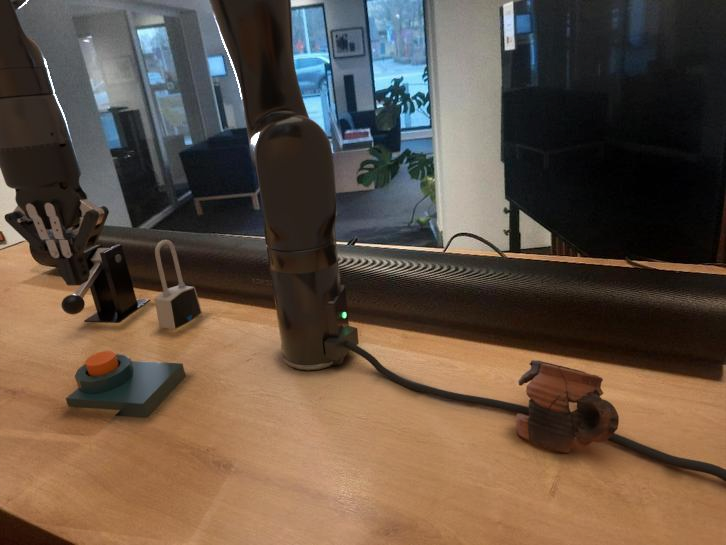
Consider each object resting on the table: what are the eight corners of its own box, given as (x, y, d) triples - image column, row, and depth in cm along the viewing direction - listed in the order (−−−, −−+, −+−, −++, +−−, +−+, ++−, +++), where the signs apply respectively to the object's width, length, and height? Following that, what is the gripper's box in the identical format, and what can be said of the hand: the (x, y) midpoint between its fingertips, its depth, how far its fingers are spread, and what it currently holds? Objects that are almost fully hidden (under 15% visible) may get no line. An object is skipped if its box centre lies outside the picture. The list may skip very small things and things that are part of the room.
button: (124, 362, 66) (121, 351, 65) (106, 377, 63) (102, 366, 62) (101, 361, 67) (97, 350, 66) (82, 376, 64) (78, 364, 63)
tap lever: (82, 318, 79) (70, 306, 76) (65, 318, 79) (53, 306, 77) (120, 258, 87) (110, 246, 85) (104, 258, 88) (94, 246, 85)
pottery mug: (490, 425, 55) (505, 352, 56) (550, 433, 59) (564, 365, 60) (580, 468, 44) (598, 377, 45) (645, 474, 48) (661, 391, 49)
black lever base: (120, 328, 84) (100, 257, 80) (85, 326, 86) (63, 257, 81) (151, 305, 93) (135, 240, 88) (119, 304, 94) (101, 240, 89)
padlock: (187, 314, 88) (168, 233, 82) (205, 317, 86) (187, 234, 80) (158, 331, 82) (136, 246, 77) (177, 335, 80) (156, 248, 75)
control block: (186, 376, 68) (179, 351, 67) (147, 418, 60) (139, 391, 59) (112, 372, 71) (104, 348, 69) (65, 412, 63) (55, 385, 61)
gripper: (-48, 149, 53) (9, 295, 59) (57, 141, 50) (104, 296, 57) (11, 139, 60) (56, 272, 66) (106, 132, 57) (143, 271, 63)
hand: (78, 283), depth 61 cm, fingers closed
